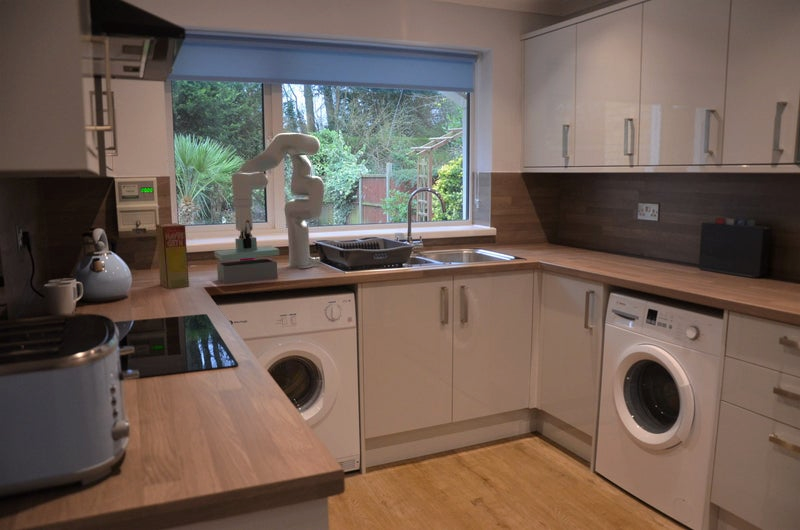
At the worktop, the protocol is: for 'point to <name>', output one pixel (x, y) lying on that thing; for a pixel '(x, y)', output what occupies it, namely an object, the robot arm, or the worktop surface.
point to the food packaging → (172, 255)
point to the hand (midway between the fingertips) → (246, 247)
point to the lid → (246, 251)
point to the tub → (247, 270)
